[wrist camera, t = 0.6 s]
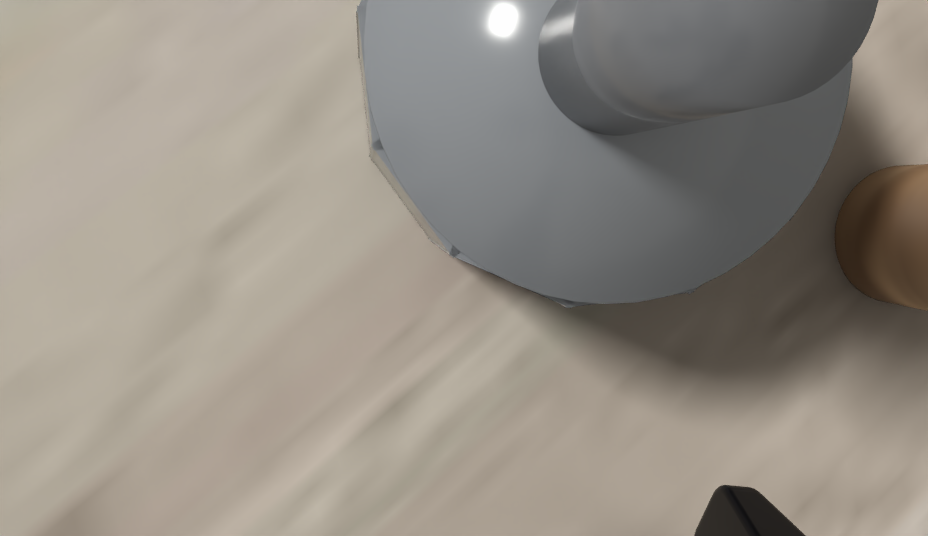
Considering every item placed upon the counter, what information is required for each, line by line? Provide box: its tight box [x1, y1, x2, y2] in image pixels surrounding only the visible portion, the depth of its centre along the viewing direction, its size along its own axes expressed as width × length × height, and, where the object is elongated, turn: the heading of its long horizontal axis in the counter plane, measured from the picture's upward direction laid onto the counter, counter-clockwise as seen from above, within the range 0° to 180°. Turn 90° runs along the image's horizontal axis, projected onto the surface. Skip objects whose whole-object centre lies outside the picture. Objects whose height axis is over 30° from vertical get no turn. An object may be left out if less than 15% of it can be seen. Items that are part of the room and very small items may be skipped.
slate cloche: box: [356, 0, 878, 308], centre depth 16 cm, size 10×10×12 cm
